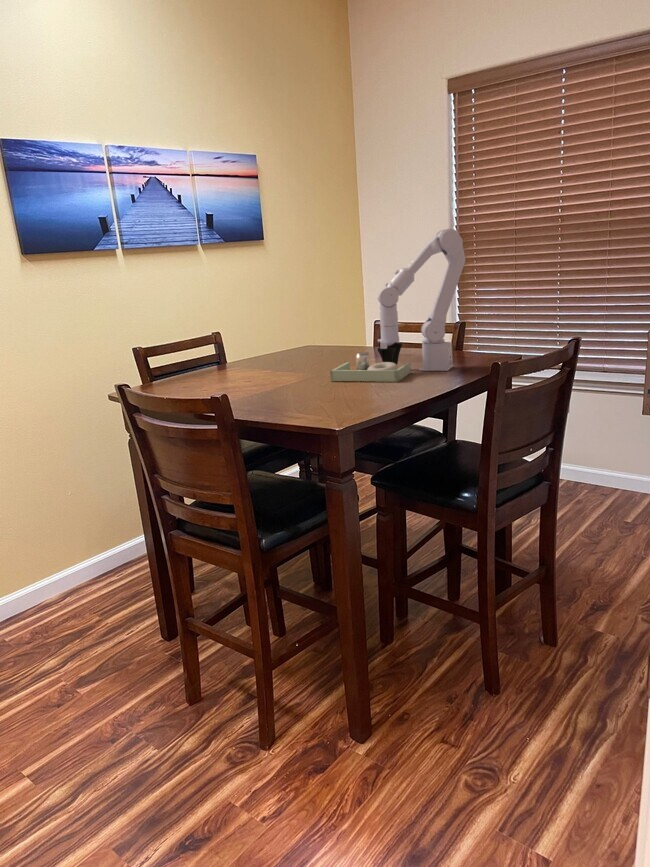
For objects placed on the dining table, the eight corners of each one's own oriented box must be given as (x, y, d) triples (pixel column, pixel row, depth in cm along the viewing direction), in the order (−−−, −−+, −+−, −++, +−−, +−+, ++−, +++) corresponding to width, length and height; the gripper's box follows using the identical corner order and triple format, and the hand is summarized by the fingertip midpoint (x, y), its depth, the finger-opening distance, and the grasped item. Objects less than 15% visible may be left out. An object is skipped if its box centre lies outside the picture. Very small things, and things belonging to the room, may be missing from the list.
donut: (365, 374, 210) (370, 382, 200) (363, 364, 208) (369, 371, 199) (395, 369, 210) (402, 376, 201) (393, 358, 209) (401, 365, 200)
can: (371, 369, 222) (370, 352, 221) (367, 371, 218) (366, 354, 217) (359, 369, 224) (358, 352, 223) (354, 371, 220) (353, 354, 219)
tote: (411, 372, 210) (410, 362, 209) (398, 382, 197) (397, 370, 196) (347, 372, 219) (346, 362, 218) (331, 381, 206) (330, 370, 205)
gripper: (384, 323, 218) (385, 363, 221) (370, 329, 205) (372, 371, 209) (404, 322, 215) (406, 363, 219) (391, 328, 202) (393, 371, 206)
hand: (391, 367), depth 214 cm, fingers open, 6 cm apart
